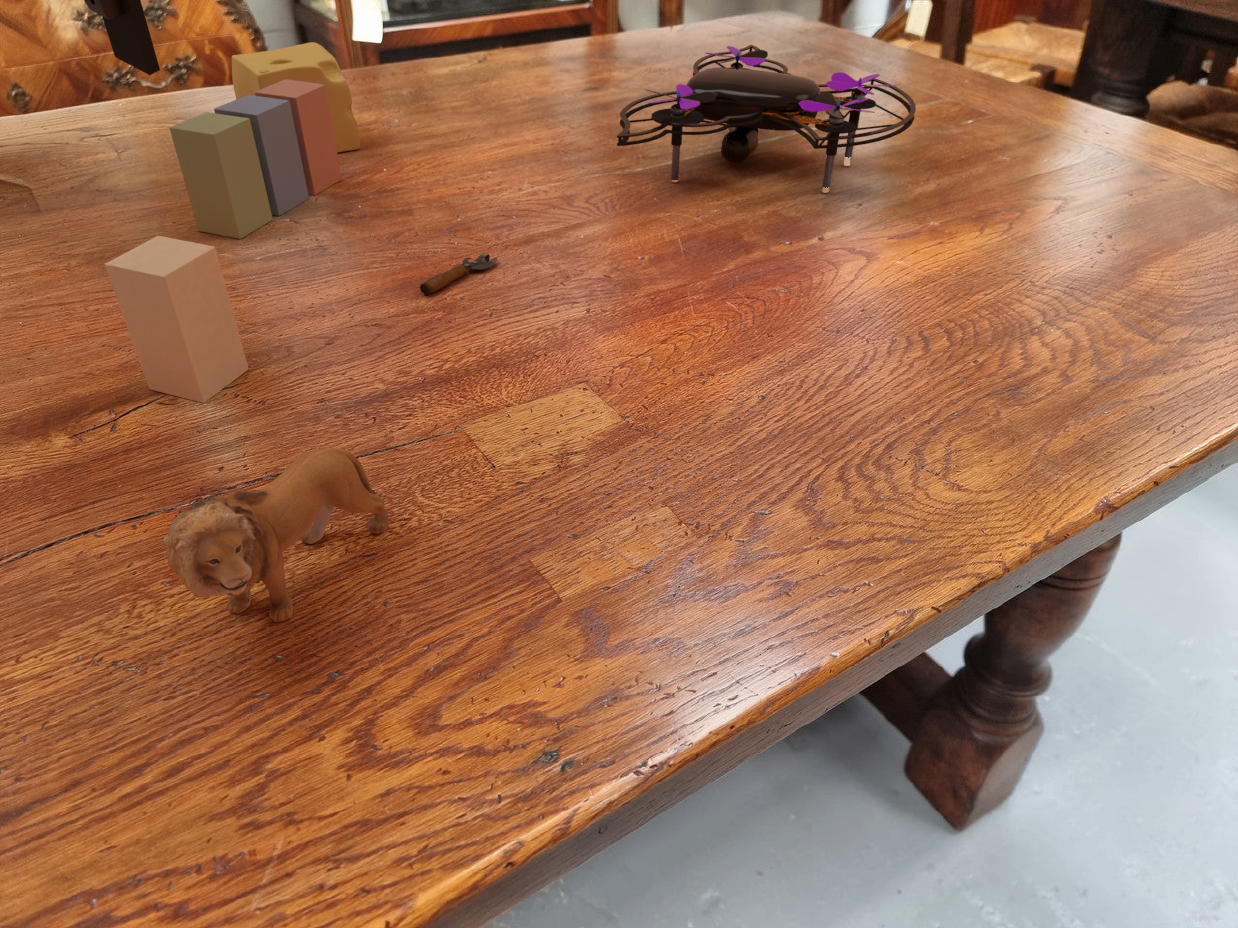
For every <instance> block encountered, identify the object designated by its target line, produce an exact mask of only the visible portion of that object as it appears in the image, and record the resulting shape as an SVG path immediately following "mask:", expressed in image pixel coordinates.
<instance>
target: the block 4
mask: <svg viewBox="0 0 1238 928" xmlns="http://www.w3.org/2000/svg"><path fill="white" fill-rule="evenodd" d="M255 96H260V97H267V98H275V99H282V100H289V101H290V106H291V111H292V116H293V121H294V126H295V131H296V136H297V141H298V146H299V151H300V156H301V160H302V165H303V170H304V175H305V180H306V185H307V190H308V195H312V196H316V195H318V194H319V193H321V192H324V191H325V190H327V189H328V188H329V187H331V186H333V185H335V184H336V183H338V182H339V181H341V180H343V176H342V172H341V170H342V169H341V166H340V165H341V164H340V160H339V154H338V153H339V152H338V153H337V148H336V142H335V136H334V131H333V125H332V119H331V114H330V108H329V102H328V97H327V91H326V85H325V84H317V83H310V82H302V81H294V80H287V79H285V80H282V81H280V82H278V83H275V84H273V85H270V86H268V87H266V88H263V89H261V90H258V91H256V92H255Z"/></svg>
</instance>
